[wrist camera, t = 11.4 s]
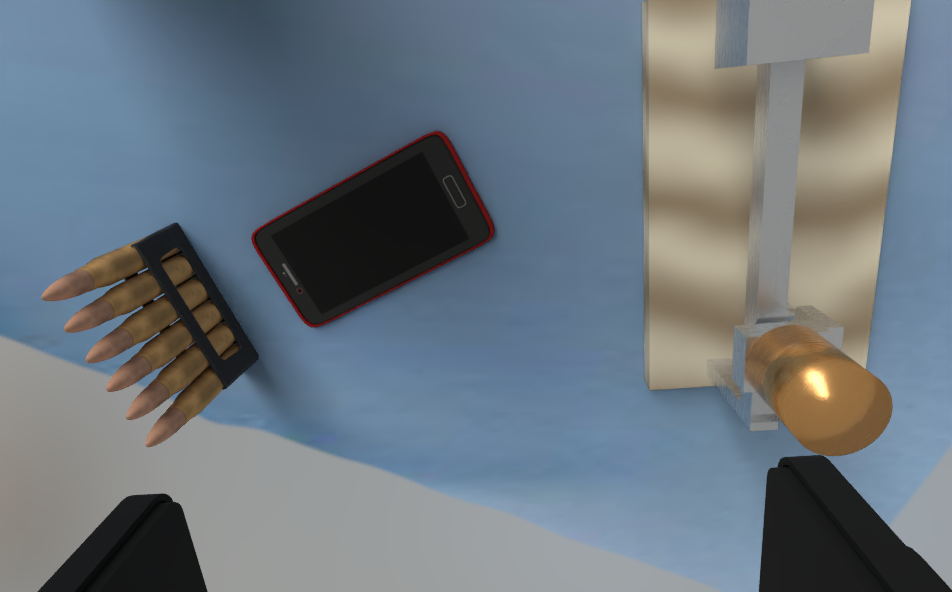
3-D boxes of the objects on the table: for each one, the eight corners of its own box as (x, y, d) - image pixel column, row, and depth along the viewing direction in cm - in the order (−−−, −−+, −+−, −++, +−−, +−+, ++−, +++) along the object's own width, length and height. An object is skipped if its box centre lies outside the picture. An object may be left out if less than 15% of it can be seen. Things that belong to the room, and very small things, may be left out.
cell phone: (499, 233, 39) (499, 236, 38) (313, 327, 42) (308, 333, 41) (442, 124, 37) (441, 125, 36) (250, 231, 40) (244, 235, 39)
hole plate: (642, 2, 34) (648, -2, 33) (897, -26, 33) (916, -31, 32) (644, 380, 42) (649, 390, 40) (852, 366, 41) (865, 376, 39)
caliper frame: (685, -6, 33) (751, -41, 24) (796, -18, 32) (904, -58, 24) (680, 374, 40) (729, 451, 31) (770, 368, 39) (845, 444, 31)
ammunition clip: (260, 357, 42) (171, 454, 31) (238, 367, 43) (142, 466, 31) (177, 221, 39) (45, 273, 28) (154, 232, 40) (15, 288, 28)
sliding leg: (691, 276, 37) (795, 373, 24) (781, 269, 37) (934, 364, 24) (690, 335, 38) (788, 458, 25) (776, 329, 38) (920, 451, 25)
